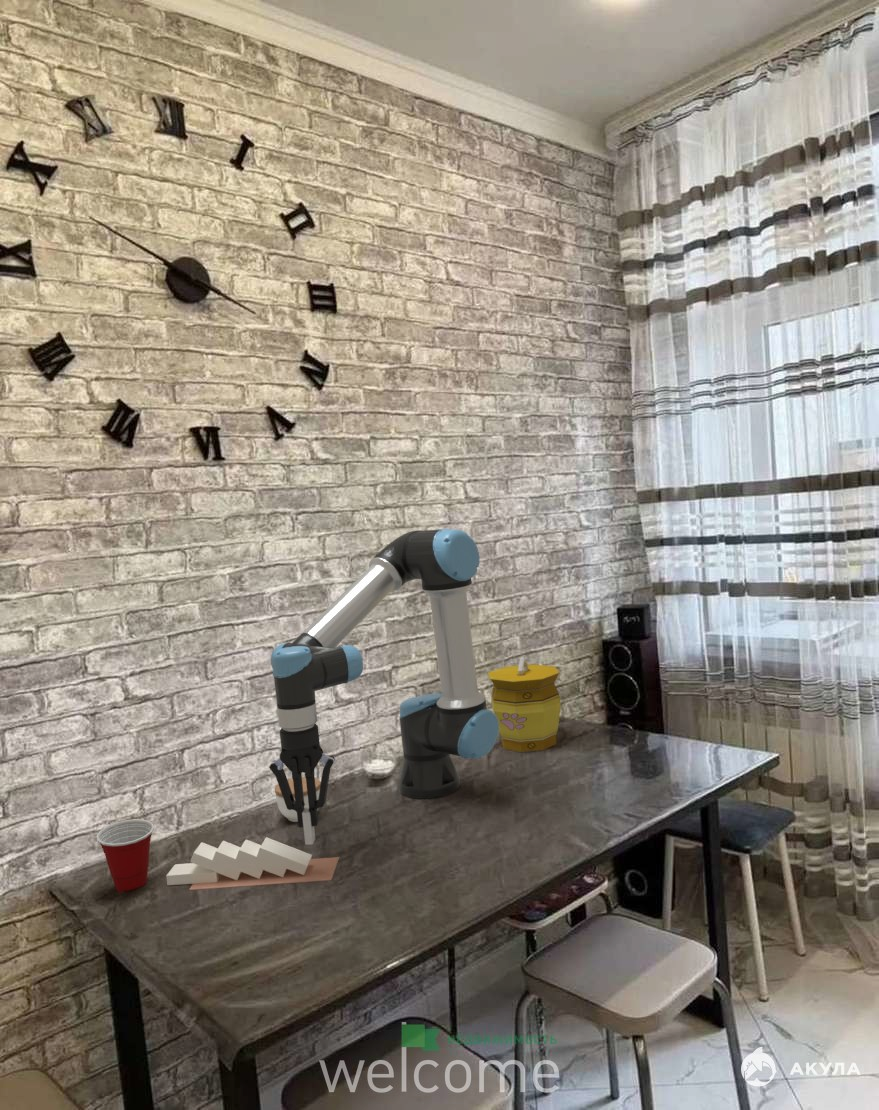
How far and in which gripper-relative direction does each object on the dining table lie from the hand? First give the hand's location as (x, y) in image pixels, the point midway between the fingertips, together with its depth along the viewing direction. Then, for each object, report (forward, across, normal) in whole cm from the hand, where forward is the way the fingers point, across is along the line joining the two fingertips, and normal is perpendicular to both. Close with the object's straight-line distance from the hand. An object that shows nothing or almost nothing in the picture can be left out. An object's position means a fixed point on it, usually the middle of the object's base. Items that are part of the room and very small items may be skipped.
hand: (310, 841), depth 165 cm
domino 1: (+5, +19, 0) cm, 19 cm away
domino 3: (+5, +10, 0) cm, 11 cm away
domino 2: (+5, +14, 0) cm, 15 cm away
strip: (+6, +10, 0) cm, 11 cm away
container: (+7, -48, -73) cm, 88 cm away
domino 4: (+5, +5, 0) cm, 7 cm away
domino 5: (+5, +1, 0) cm, 5 cm away
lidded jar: (+7, +8, -30) cm, 32 cm away
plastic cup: (+7, +36, +1) cm, 37 cm away
